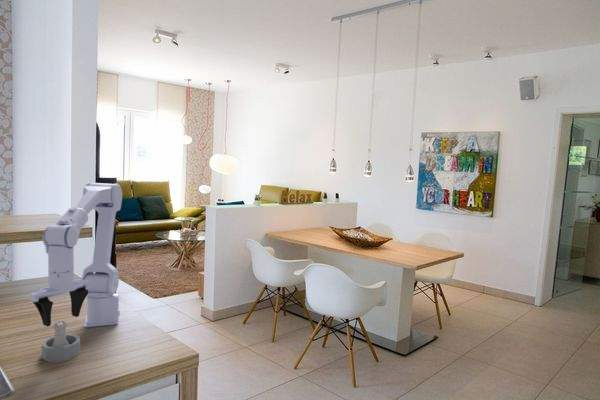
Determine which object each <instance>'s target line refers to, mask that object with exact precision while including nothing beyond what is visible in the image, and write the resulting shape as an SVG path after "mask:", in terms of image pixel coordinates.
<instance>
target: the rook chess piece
mask: <svg viewBox="0 0 600 400" xmlns="http://www.w3.org/2000/svg"><path fill="white" fill-rule="evenodd" d="M67 326H68V324H67V323H66V321H65V320H62V321H61V320H59V321H56V322H54V325H53V326H52V328H53V330H54V332H53V333H54V336H55V339H54V343H53V345H52V346H51V347H64V346H67V345H69V343H68V341H67V340H66V335H65V334H66V333H67V330H66V328H67Z"/></svg>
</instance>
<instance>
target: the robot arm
mask: <svg viewBox="0 0 600 400" xmlns="http://www.w3.org/2000/svg"><path fill="white" fill-rule="evenodd" d="M122 203H123V190H122V186H120V184H119V183H106V182H105V183H103V182H92V181H91V182H90V181H88V182H87V183H86V184H85V185H84V186H83V190H82V197H81V198H80V200H79V202H78V203H77V205H76V206H72V207H70V208H68V209H67V211H66V212H65V213H64V214H63V215H62V216H61V218H59V220H58V221H57V222H55V224H50V225H48V226H47V227H46V228H45V229H44V231H43V235H42V242H43V243H42V244H43V245H44V247H45V253H46V254H47V257H48V259H47V265H48V267H47V269H48V276H47V277H48V286H46V287H43V288H41V289H38V290H37V291H33V292H30V293H29V294H30V295H29V298H30V301H31V302H32V303H33V305H34V306H35V308H36V309H37V311H38V313H39V315H40V318H41V320H42V325H43V326H45V327H50V326H51V325H52V323H51V322H52V308H53V305H54V301H52V300H50V298H52V297H56V296H59V295H63V294H66V293H69V296H70V302H71V303H70V306H71V316H73V317H75V318H78V317H79V316H80V313H81V310H82V309H81V308H82V306H83V305H84V304H83V303H84V301H85V300H86V316H85V317H86V318H85V320H84V321H85V322H84V325H83V326H84V328H90V327H91V328H92V327H101V326H111V325H118V324H119V316H120V313H121V312H120V311H121V310H120V309H119V302H120V301H119V300H120V299H119V297H120V295H119V293H118V292H117V291H118V288H119V270H118V269H117V268H116V267H115V266H114V265H112V263H111V257H112V246H113V239H114V232H115V231H114V230H115V223H116V222H115V221H116V215H117V212H119V211H121V208H122ZM92 210H95V211H96V212H97V214H98V215H97V216H98V218H97V225H96V232H95V240H94V249H93V255H92V256H93V258H92V263H91V264H89V265H88V266H86V267H85V268H84V269H83V273H82V276H81V278H80V280H75V279H74V276H75V275H74V268H75V267H74V266H75V265H74V262H75V261H74V258H75V257H74V252H75V251H74V247H75V246H76V245H77V244H78V242H79V241H78V240H79V237H80V234H81V230H82V229H83V228H84V226H85V225H86V224H87V222H88V220H89V216H88V214H89V213H91V211H92ZM74 280H75V281H74Z"/></svg>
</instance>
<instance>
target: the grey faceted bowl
mask: <svg viewBox="0 0 600 400" xmlns="http://www.w3.org/2000/svg"><path fill="white" fill-rule="evenodd" d="M65 335H66V340H67V341H68V343H69V345H67V346H64V347H51V346H52V345H53V343H54V339H55V335H54V336H50V337H48V338H47V339H45V340H43V342H42V344H41V358H42V360H44V361H45V362H50V363H51V362H53V363H55V362H64V361H68V360H70V359H74V358H75V357H77V356H78V355H80V354H81V353H80V352H81V336H79V335H77V334H72V333H65Z"/></svg>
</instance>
